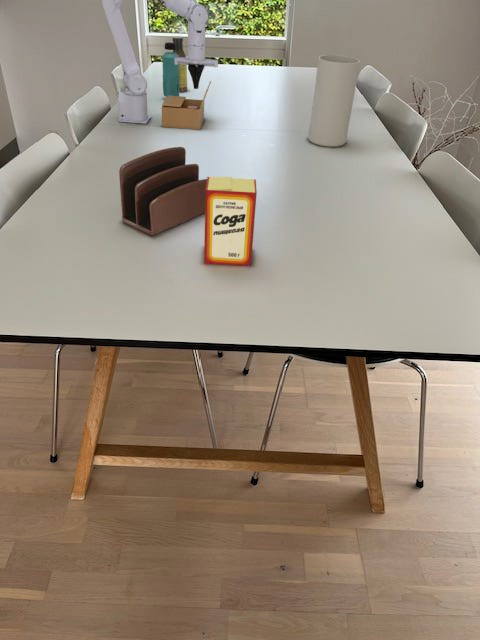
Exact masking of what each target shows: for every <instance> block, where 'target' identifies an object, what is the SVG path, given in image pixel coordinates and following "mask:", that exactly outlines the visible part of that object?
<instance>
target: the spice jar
mask: <svg viewBox="0 0 480 640" xmlns="http://www.w3.org/2000/svg"><path fill="white" fill-rule="evenodd" d="M187 109H198V107H196V106H188V107H187Z"/></svg>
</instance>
